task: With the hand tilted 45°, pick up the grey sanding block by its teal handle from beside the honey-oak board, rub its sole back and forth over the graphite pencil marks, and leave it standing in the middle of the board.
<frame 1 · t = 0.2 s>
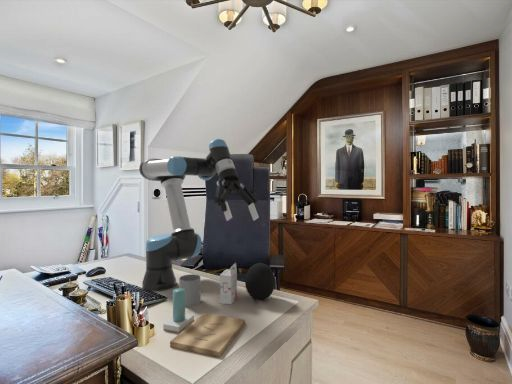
hand: (243, 219, 109), 35 cm above the table, tool tilted 35°, fingers open, 13 cm apart
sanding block: (179, 325, 98), on the table
board: (210, 334, 92), on the table
cup: (189, 302, 117), on the table
ink cartridge box: (228, 300, 119), on the table
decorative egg: (260, 299, 120), on the table
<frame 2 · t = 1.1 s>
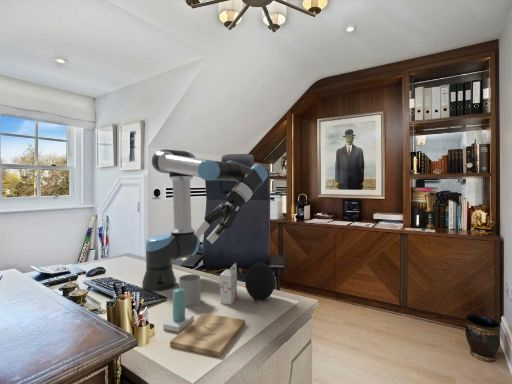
hand: (202, 238, 106), 28 cm above the table, tool tilted 45°, fingers open, 13 cm apart
nothing on the table moved.
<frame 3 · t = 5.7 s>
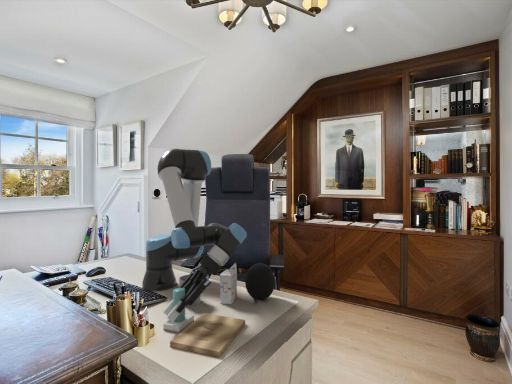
hand: (167, 316, 96), 4 cm above the table, tool tilted 45°, fingers closed on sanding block, 4 cm apart
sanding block: (179, 325, 98), on the table, touching gripper
everything else where it was.
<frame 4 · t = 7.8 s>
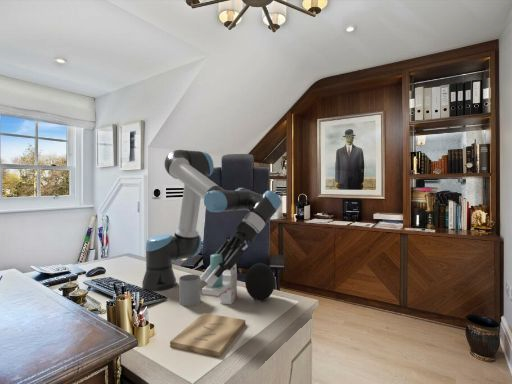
hand: (205, 281, 94), 16 cm above the table, tool tilted 45°, fingers closed on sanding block, 4 cm apart
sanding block: (216, 291, 96), point 12 cm above the table, touching gripper
everything else where it was.
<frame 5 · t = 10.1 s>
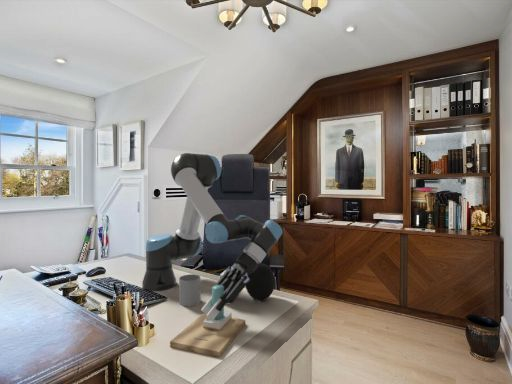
hand: (206, 314, 94), 5 cm above the table, tool tilted 45°, fingers closed on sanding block, 4 cm apart
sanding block: (217, 322, 96), point 2 cm above the table, touching board, gripper
everything else where it was.
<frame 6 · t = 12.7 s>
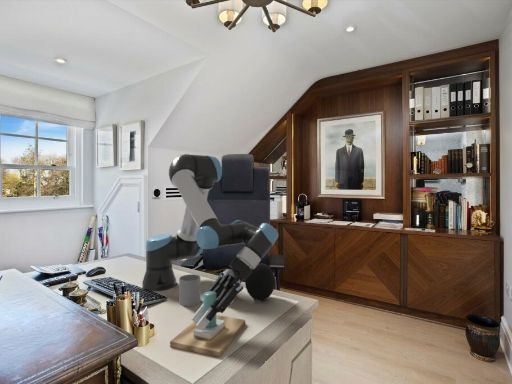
hand: (196, 324, 88), 5 cm above the table, tool tilted 45°, fingers closed on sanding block, 4 cm apart
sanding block: (209, 331, 91), point 2 cm above the table, touching gripper
everything else where it was.
when the fingers open (5 cm above the table, at t = 15.0 s): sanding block stays where it is, resting on board.
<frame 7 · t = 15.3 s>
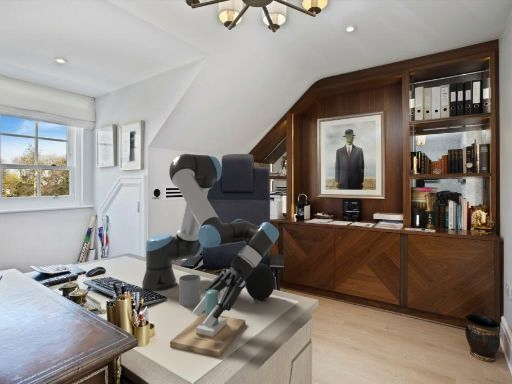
hand: (200, 319, 90), 6 cm above the table, tool tilted 45°, fingers open, 8 cm apart
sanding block: (211, 329, 92), point 2 cm above the table, touching board
everything else where it was.
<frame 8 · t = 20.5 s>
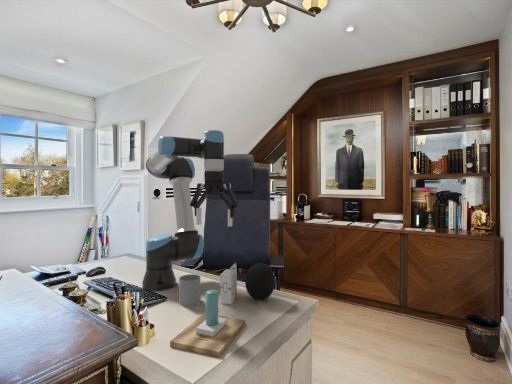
hand: (214, 225, 113), 32 cm above the table, tool pointing down, fingers open, 13 cm apart
nothing on the table moved.
at the end: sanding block inside the target area on the board (0.5 cm from its centre), point 1.5 cm above the board's base; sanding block tilted 0°; the gripper is holding nothing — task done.
